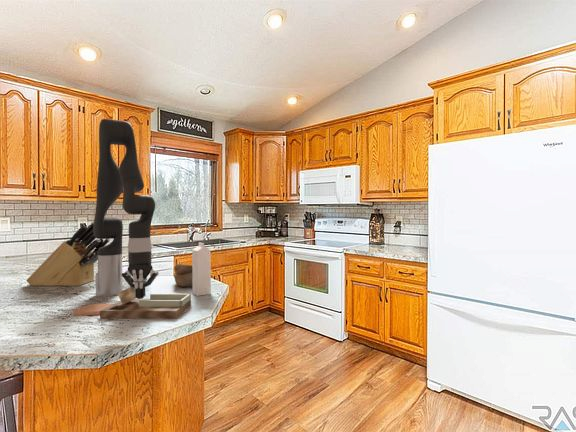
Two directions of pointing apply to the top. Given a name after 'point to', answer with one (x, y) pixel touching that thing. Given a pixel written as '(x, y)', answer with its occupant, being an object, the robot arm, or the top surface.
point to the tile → (91, 309)
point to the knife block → (70, 261)
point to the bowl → (183, 275)
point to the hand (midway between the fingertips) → (140, 298)
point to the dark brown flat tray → (142, 311)
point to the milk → (201, 270)
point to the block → (127, 295)
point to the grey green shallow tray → (165, 300)
